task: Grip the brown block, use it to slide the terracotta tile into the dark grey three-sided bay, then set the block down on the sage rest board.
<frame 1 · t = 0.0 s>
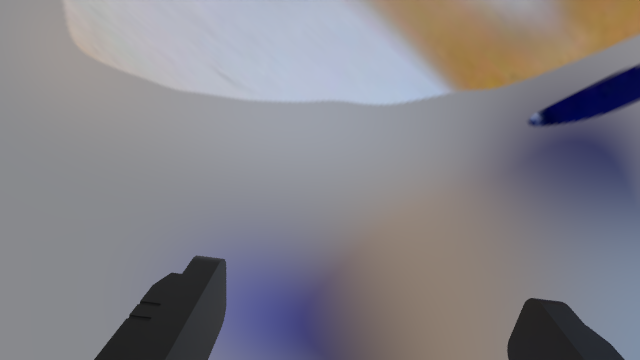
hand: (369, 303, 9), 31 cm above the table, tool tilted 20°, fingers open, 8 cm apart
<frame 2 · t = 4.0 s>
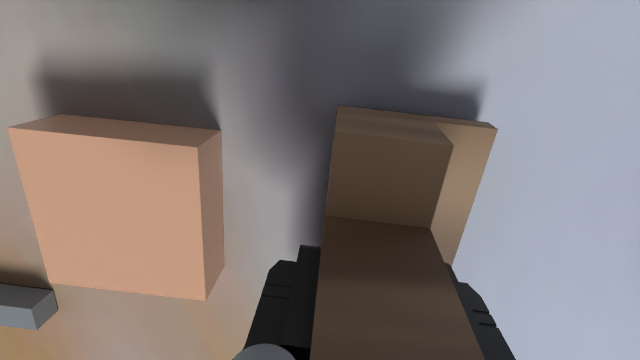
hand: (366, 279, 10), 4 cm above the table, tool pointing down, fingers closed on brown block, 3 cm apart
tile: (153, 192, 14), on the table
brown block: (363, 213, 13), on the table, touching gripper
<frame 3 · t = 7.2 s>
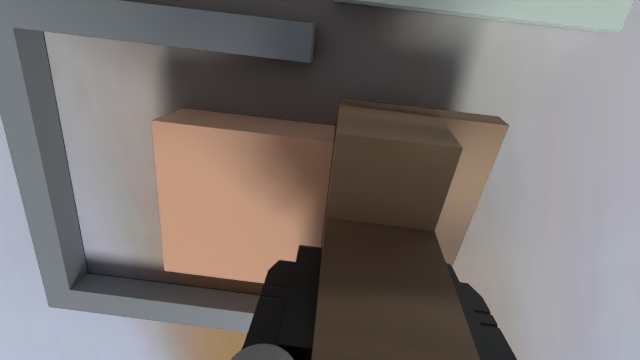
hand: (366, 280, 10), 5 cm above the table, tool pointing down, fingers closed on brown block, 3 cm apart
tile: (257, 185, 14), on the table
brown block: (366, 207, 13), point 2 cm above the table, tilted 8°, touching gripper
bay: (183, 183, 14), on the table
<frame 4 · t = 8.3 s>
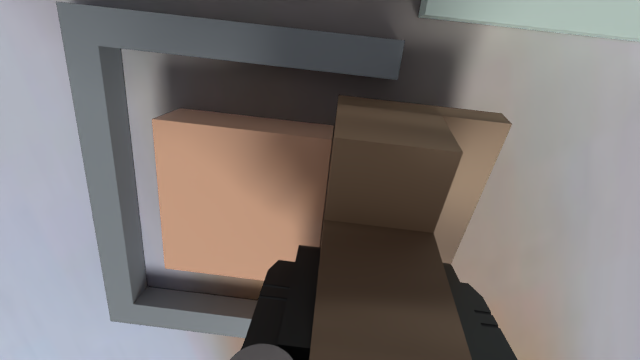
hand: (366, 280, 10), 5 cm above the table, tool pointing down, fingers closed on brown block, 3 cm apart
tile: (256, 184, 14), on the table
brown block: (365, 203, 12), point 1 cm above the table, tilted 11°, touching gripper
bay: (251, 197, 14), on the table
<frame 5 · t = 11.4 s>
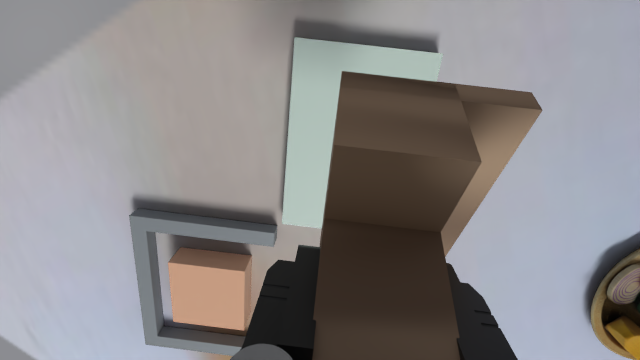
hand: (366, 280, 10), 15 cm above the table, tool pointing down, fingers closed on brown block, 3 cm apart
tile: (218, 277, 29), on the table
brown block: (371, 180, 12), point 12 cm above the table, tilted 25°, touching gripper
rest board: (353, 144, 24), on the table
bay: (216, 285, 29), on the table
when the fingers open (5 cm above the table, at t = 14.1 s): brown block drops 2 cm, resting on rest board.
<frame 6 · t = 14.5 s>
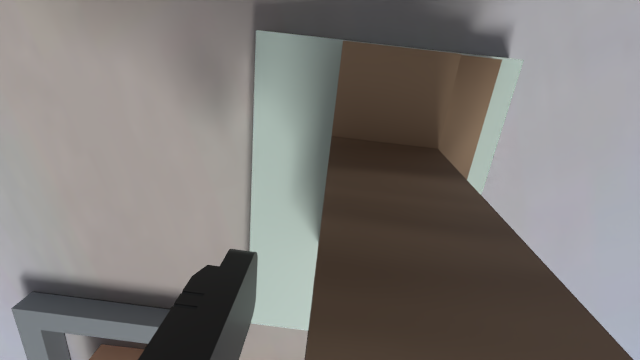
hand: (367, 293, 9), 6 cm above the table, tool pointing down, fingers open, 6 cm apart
brown block: (368, 159, 13), point 1 cm above the table, touching rest board
rest board: (359, 204, 15), on the table
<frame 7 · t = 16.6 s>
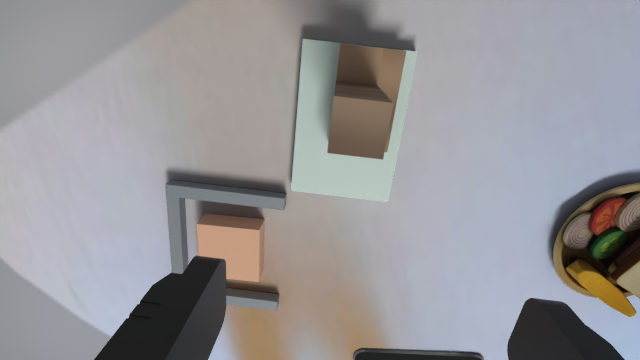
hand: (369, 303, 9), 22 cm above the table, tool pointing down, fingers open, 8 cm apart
tile: (236, 240, 35), on the table
brown block: (352, 98, 28), point 1 cm above the table, touching rest board
rest board: (348, 124, 29), on the table
toy sandwich meal: (621, 237, 32), on the table
bay: (234, 246, 35), on the table
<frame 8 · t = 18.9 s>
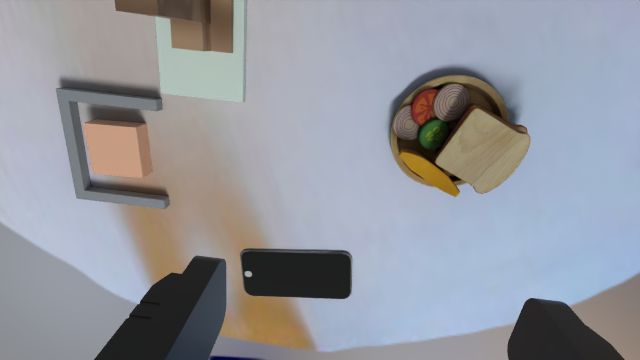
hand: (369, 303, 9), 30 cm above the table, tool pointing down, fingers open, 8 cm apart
smartphone: (296, 271, 46), on the table
tile: (126, 145, 41), on the table
brown block: (198, 6, 33), point 1 cm above the table, touching rest board
rest board: (203, 33, 35), on the table
toy sandwich meal: (451, 131, 38), on the table
bay: (124, 150, 40), on the table
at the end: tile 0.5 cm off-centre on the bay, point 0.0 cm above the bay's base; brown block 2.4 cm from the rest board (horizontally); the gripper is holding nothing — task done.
